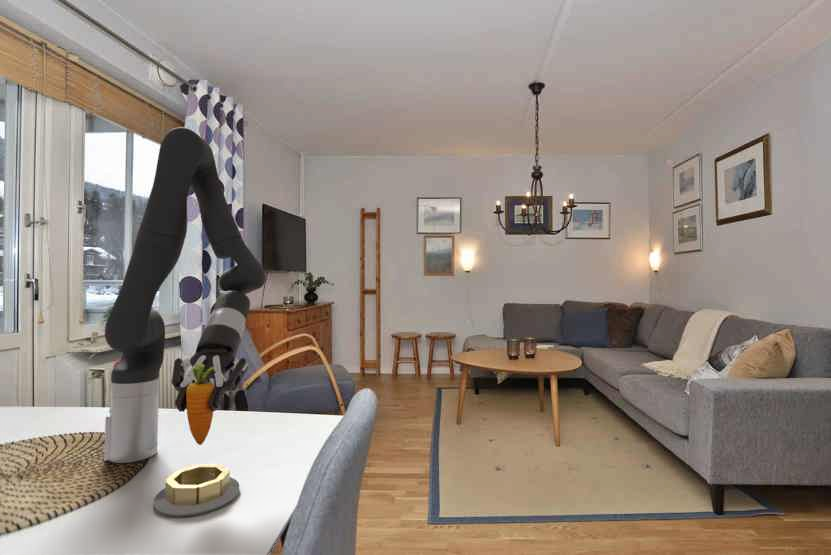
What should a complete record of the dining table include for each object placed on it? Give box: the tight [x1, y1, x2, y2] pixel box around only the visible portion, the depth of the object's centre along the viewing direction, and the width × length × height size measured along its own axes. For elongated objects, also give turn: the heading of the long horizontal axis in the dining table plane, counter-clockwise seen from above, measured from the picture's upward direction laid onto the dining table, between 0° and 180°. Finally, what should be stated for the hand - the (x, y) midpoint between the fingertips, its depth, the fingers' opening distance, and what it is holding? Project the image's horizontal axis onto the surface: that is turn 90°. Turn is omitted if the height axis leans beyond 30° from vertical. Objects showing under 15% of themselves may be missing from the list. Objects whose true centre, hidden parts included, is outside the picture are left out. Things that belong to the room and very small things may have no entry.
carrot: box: [186, 364, 215, 446], centre depth 80 cm, size 5×5×15 cm
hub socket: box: [153, 463, 240, 519], centre depth 80 cm, size 14×14×4 cm
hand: (196, 408), depth 78 cm, fingers closed on carrot, 5 cm apart
